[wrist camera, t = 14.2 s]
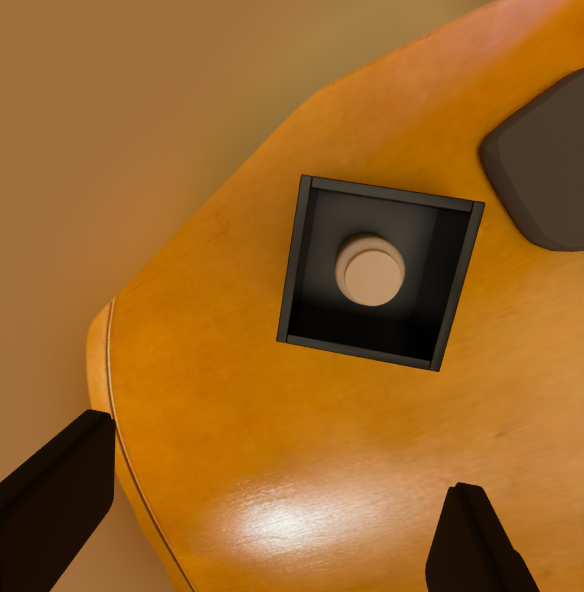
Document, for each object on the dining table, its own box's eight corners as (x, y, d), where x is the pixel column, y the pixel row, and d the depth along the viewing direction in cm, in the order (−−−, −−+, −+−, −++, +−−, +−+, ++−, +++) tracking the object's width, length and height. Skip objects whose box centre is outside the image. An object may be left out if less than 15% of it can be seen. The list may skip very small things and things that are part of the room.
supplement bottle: (396, 283, 37) (415, 311, 27) (339, 290, 38) (338, 320, 28) (390, 226, 35) (408, 235, 26) (332, 235, 36) (328, 247, 27)
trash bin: (291, 307, 39) (275, 341, 30) (311, 180, 36) (301, 174, 27) (415, 330, 38) (439, 372, 29) (447, 201, 35) (486, 202, 26)
